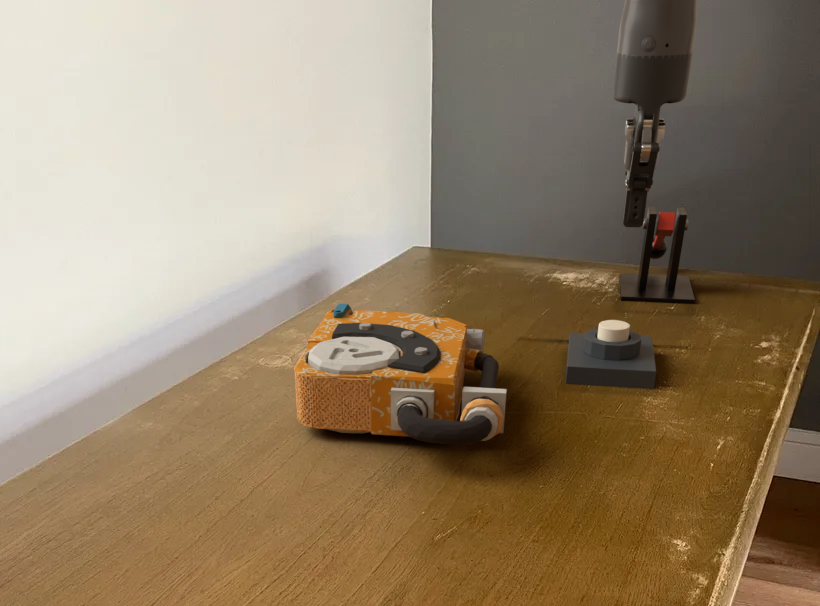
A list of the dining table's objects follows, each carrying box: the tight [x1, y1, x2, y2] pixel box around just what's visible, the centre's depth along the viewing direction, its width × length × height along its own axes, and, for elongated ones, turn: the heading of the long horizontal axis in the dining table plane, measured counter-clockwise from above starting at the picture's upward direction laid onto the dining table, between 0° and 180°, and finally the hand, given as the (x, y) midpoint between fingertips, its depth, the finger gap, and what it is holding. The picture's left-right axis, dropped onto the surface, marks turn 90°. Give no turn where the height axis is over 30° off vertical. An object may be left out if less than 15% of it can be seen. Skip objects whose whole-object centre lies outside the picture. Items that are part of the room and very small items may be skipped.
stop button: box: [597, 319, 631, 342], centre depth 113 cm, size 4×4×2 cm
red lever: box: [650, 211, 677, 260], centre depth 139 cm, size 14×3×3 cm, turn 169°
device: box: [293, 302, 508, 446], centre depth 103 cm, size 23×8×30 cm
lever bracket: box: [618, 206, 696, 305], centre depth 136 cm, size 12×10×12 cm
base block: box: [565, 327, 657, 390], centre depth 114 cm, size 12×10×4 cm
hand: (632, 225), depth 108 cm, fingers closed
